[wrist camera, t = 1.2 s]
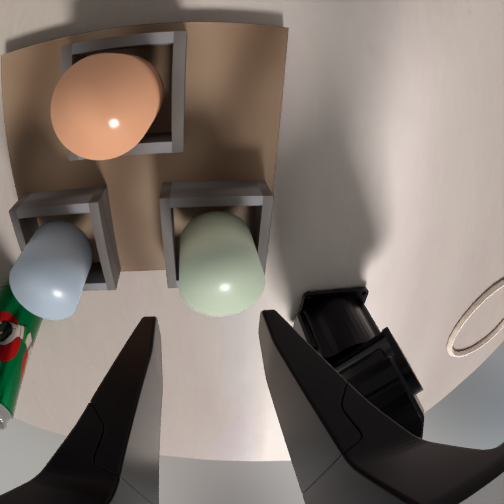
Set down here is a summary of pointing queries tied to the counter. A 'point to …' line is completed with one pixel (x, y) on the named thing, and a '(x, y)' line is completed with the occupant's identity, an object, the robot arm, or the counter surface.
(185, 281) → the sage button
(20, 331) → the soda can
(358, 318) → the robot arm
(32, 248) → the slate-blue button
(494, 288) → the hand towel holder
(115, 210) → the walnut button board
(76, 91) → the terracotta button
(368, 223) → the counter surface
